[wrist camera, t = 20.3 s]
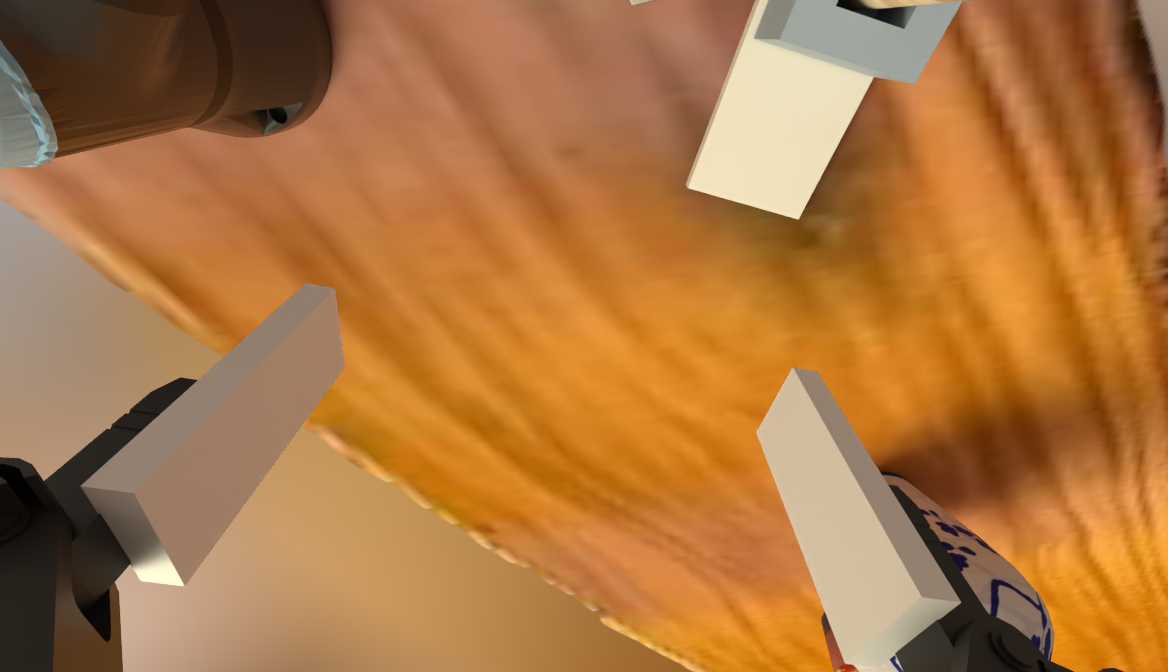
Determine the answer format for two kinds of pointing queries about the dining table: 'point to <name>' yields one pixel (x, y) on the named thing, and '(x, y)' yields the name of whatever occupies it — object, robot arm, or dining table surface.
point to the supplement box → (638, 1)
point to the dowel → (885, 3)
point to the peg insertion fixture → (774, 125)
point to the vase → (981, 576)
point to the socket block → (859, 35)
